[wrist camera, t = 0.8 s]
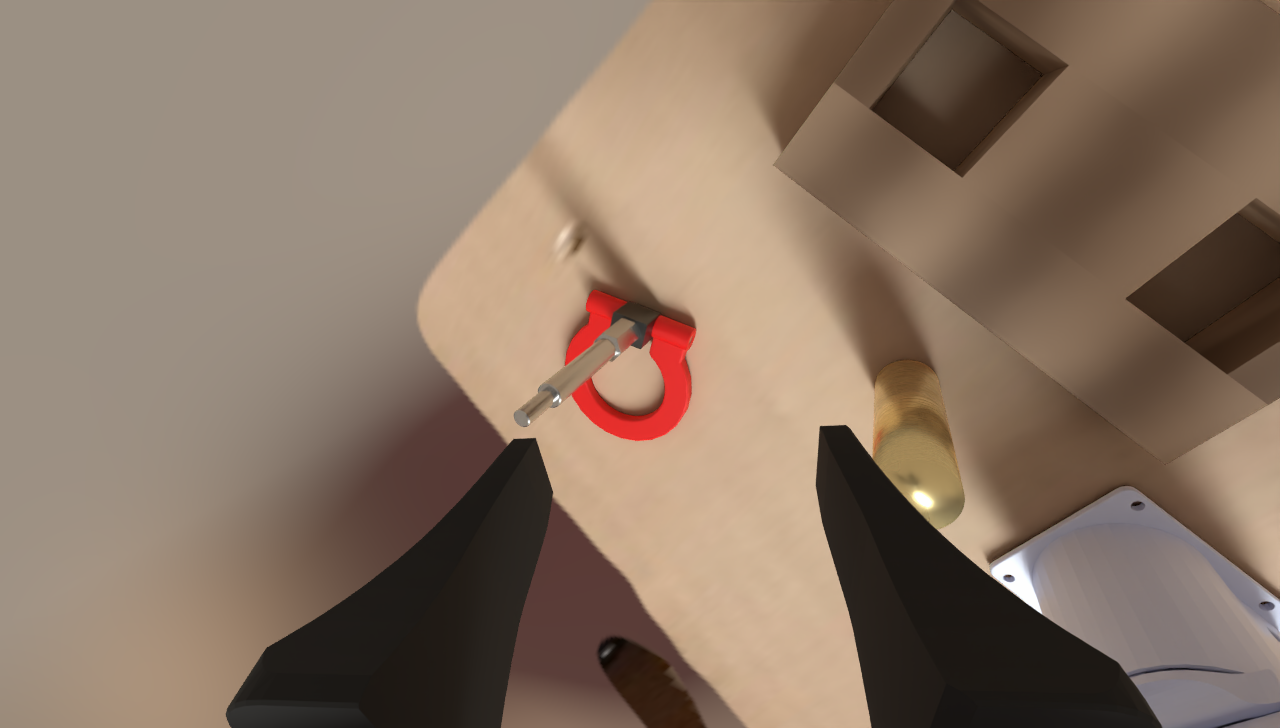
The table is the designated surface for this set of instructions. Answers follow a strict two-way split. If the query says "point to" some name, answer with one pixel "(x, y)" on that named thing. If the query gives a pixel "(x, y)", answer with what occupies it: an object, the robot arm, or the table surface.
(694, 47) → the table surface
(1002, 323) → the hole block
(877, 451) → the brass pin
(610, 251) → the table surface
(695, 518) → the table surface
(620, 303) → the tow hook
